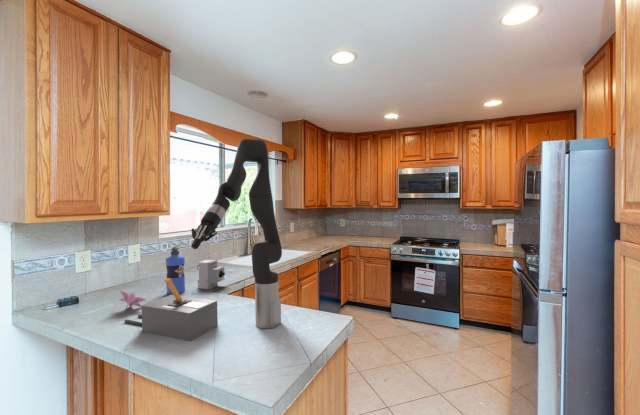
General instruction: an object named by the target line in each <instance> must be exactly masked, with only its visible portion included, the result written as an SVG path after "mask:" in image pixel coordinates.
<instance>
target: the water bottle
mask: <svg viewBox="0 0 640 415" xmlns="http://www.w3.org/2000/svg"><path fill="white" fill-rule="evenodd" d="M185 260H186V259H185V256H182V255H180V250H179V248H178V246H173V247H172V248H171V249H170V256H168V257H166V258H165V265H166V266H165V267H166V278H171V280H172V281H173V284H174V286H175V287H176V289H177V291H178V293H179V294H180V295H181V294H184V293H185V292H186V278H185V277H186V276H185V271H184V269H185V263H186V262H185ZM166 295H167V296H169V295H173V293H172V292H171V290H170V288H169V287H168V285H167V284H166Z"/></svg>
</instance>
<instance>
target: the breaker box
mask: <svg viewBox="0 0 640 415" xmlns="http://www.w3.org/2000/svg"><path fill="white" fill-rule="evenodd" d="M180 296H181V298H182V299H183V300H181V301H180V302H177V300H176V298H175V297H174V295H166V296H164V297H161V298H159V299H156V300H153V301H150V302H148V303H145V304H142V305H141V306H142V308H141V313H139V314H138V315H137V317H138V318H141V321H137V320H132V319H125V320H124V323H126V324H131V325H137V326H141V332H144V333H147V334H153V335H158V336H162V337H166V338H173V339H177V340H183V341H187V342H192V341H194V340H196V339H197V338H199V337H200V336H202V335H204V334H206V333H207V332H209V331H211V330H213V329H214V328H216V327H218V325H219V323H218V319H219V318H218V300H214V299H207V298H200V297H192V296H185V295H180Z"/></svg>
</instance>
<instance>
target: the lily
mask: <svg viewBox="0 0 640 415" xmlns="http://www.w3.org/2000/svg"><path fill="white" fill-rule="evenodd" d="M118 292H119V293H120V295H121V296H122V297H121V298H119V299H117V301H119V302H120V301H121V302H124V303H126V304H127V305H126V307H125V310H124V313H126V312H127V308H128V307H129V308H132V307H133V306H136V307H139V308H141V309H142V305H141V303H142V302H145V301H147V299H146V298H144V297H140V296H136V295H135V292H134V293H133V292H130V293H127V292H126V291H124V290H118Z"/></svg>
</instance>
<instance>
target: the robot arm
mask: <svg viewBox="0 0 640 415" xmlns="http://www.w3.org/2000/svg"><path fill="white" fill-rule="evenodd" d="M268 154H269V152H268V146H267V144H266V142H265V141H264V140H262V139H252V138H243V139H241V140H240V141H239V144H238V145H237V149H236V153H235V156H234V161H233V165H232V169H231V172H230V173H229V175H228V178H227V180H226V181H223V182H222V183H220V185H219V187H218V191H217V195H216V197H215V199H214V201H213V202H212V204H211V206H209V208H208V209H207V210H206V211H205V213H204V215H203V216H202V218H201V220H200V224H199V225H198V226H197V228H193V227H192V228H191V238H192V239H193V241H192V243H191V246H190V247H191V248H192V249H193V250H197V249H199V247H200V246H201V244H202V243H204V242H208V241H209V240H210V239H212V238H214V237H215V236H216V235H217V234H218V232H217V231H216V229H218V227H219V226H220V224H221V222H222V220H223V219H224V217H225V214H226V212H227V211H228V210H229V208H230V205H231V202H235V201H238V200H239V198H240V197H241V195H242V186H243V184H244V183H245V181H246V178H247V170H246V168H245V166H244V164H245V163H246V162H247V163H256V165H257V166H256V167H257V169H256V170H257V171H256V172H257V173H256V177H255V179H254V180H253V182H252V185H251V186H250V190H249V193H248V198H249V200H248V201H249V206H250V211H251V213H252V214H253V217H254V218H255V220H256V221H257V223H258V224H259V225H260V227H261V228H262V232H263V237H264V240H263V241H258V242H256V243H255V244H254V245H252V250H251V263H252V274H253V278H254V297H255V298H254V300H255V302H254V304H255V308H254V310H255V326H256V327H257V328H259V329H274V328H276V327H277V326H279V324H281V323H282V300H281V298H280V297H279V296H280V295H279V274H278V273H277V272H275V271H272V270H271V268H270V267H271V266H270V265H271V264H274V263H278V262H279V261H281V258H282V256H283V255H282V254H283V250H282V245H281V244H282V243H281V239H280V235H279V231H278V227H277V222H276V216H275V210H274V208H275V207H274V201H273V193H272V189H271V187H272V186H271V180H270V172H269V171H270V170H269V155H268ZM230 201H231V202H230Z"/></svg>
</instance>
